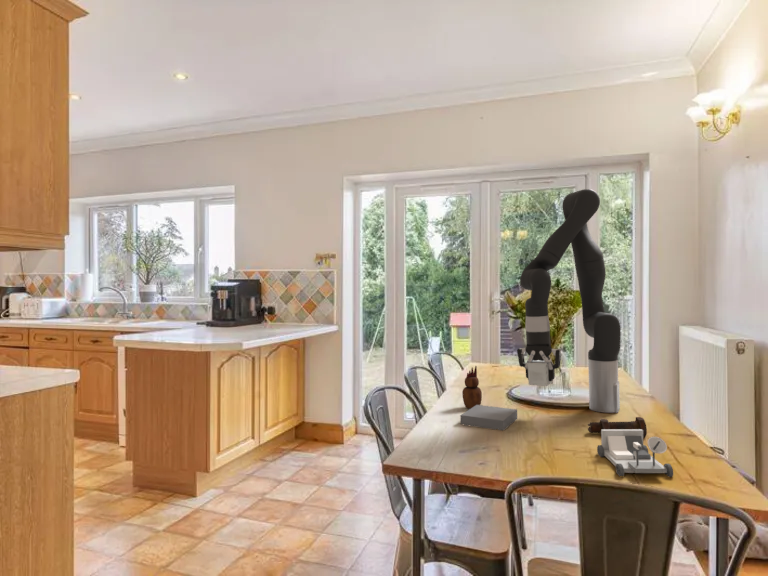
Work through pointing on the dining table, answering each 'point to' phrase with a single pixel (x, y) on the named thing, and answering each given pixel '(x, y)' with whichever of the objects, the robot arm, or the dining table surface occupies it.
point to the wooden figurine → (472, 390)
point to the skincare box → (538, 373)
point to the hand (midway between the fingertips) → (540, 380)
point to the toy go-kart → (632, 451)
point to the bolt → (618, 425)
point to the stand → (489, 417)
